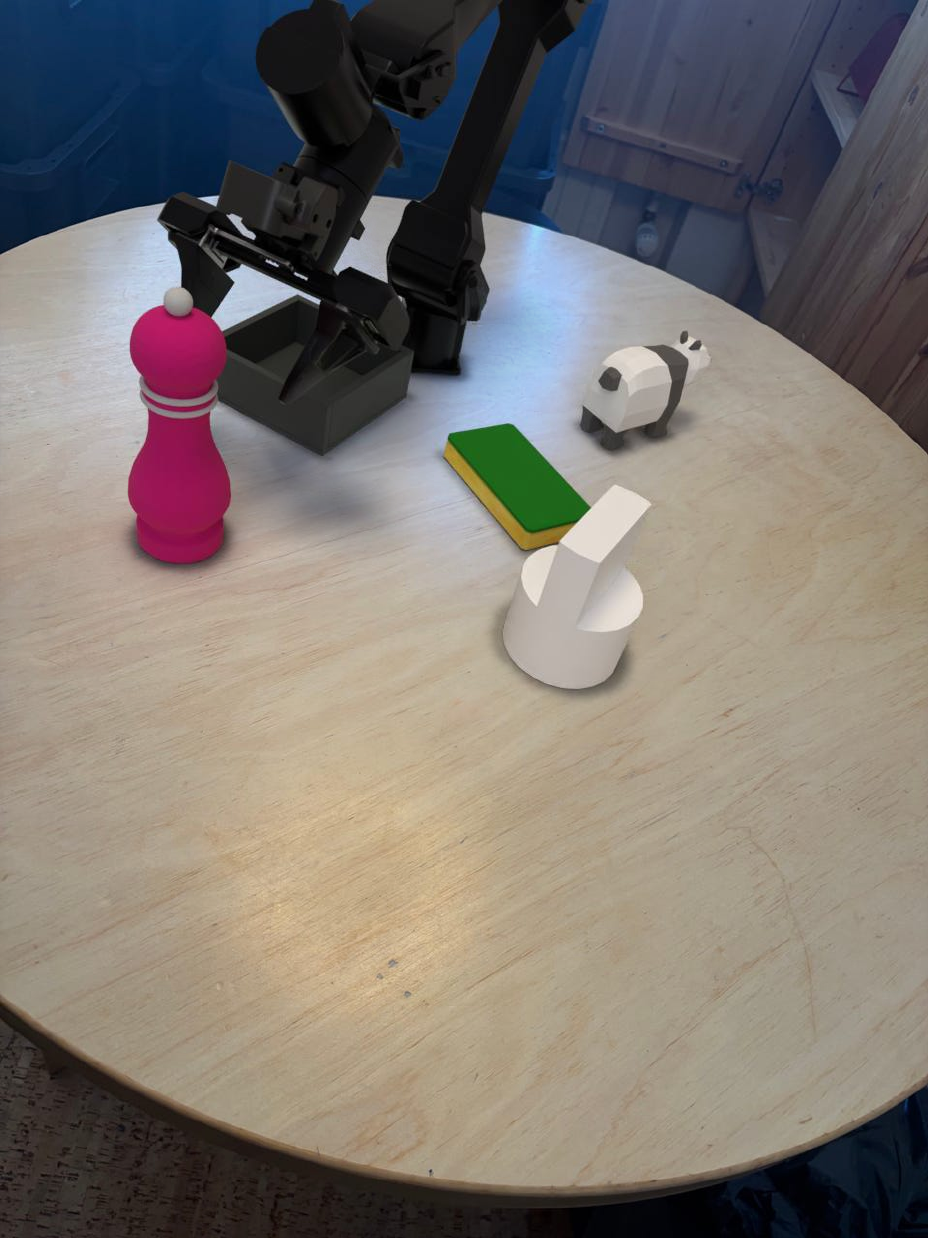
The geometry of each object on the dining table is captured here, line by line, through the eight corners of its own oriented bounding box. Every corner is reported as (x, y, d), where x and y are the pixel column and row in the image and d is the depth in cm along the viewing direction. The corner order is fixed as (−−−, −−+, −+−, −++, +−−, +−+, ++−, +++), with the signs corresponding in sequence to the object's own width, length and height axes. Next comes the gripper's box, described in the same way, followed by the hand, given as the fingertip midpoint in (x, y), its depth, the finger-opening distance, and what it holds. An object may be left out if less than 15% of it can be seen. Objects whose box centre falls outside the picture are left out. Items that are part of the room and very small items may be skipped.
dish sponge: (506, 443, 90) (511, 421, 88) (589, 535, 82) (598, 513, 80) (441, 454, 86) (446, 432, 84) (522, 552, 79) (529, 529, 77)
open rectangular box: (294, 340, 95) (297, 293, 92) (406, 396, 92) (414, 350, 88) (200, 391, 86) (200, 341, 82) (322, 456, 83) (327, 407, 79)
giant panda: (603, 457, 91) (634, 369, 84) (566, 425, 94) (594, 338, 87) (703, 426, 99) (739, 343, 92) (667, 397, 101) (699, 315, 95)
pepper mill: (207, 579, 69) (211, 329, 56) (112, 552, 69) (93, 296, 56) (243, 522, 75) (255, 280, 61) (155, 497, 75) (147, 250, 61)
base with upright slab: (586, 709, 68) (639, 587, 59) (480, 646, 70) (517, 521, 62) (636, 640, 74) (691, 522, 65) (537, 585, 76) (578, 463, 68)
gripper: (172, 64, 62) (60, 275, 62) (415, 164, 58) (295, 390, 58) (244, 162, 73) (148, 342, 73) (453, 252, 69) (352, 443, 69)
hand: (229, 376), depth 68 cm, fingers open, 9 cm apart
